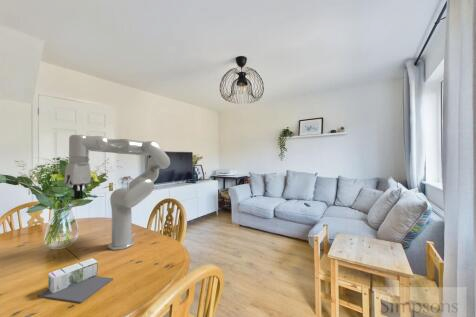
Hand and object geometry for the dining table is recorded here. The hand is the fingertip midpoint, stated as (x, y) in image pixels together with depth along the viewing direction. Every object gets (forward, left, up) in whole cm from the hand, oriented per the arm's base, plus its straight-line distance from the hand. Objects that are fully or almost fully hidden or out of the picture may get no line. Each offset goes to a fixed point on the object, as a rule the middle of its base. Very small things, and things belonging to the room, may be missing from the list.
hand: (78, 198), depth 101 cm
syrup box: (+10, +20, -26) cm, 34 cm away
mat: (+19, +21, -29) cm, 40 cm away
